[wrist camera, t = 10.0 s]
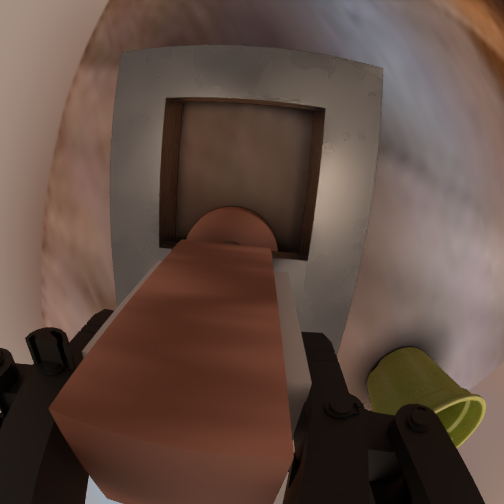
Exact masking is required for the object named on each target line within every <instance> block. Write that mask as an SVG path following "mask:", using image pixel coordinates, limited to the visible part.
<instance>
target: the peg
mask: <svg viewBox="0 0 504 504" xmlns="http://www.w3.org/2000/svg"><path fill="white" fill-rule="evenodd" d="M271 251H278V248H277V243H276V239H275V236H274V233H273V231H272V230H271V228H270V226H269V225H268V224H267V222H266V221H265V220H264V219H263V218H261V217H260V216H259V215H257V214H256V213H254V212H252V211H250V210H248V209H245V208H241V207H222V208H218V209H215V210H213V211H211V212H209V213H207V214H206V215H204V216H203V217H202V218H201V219H200V220H199V221H198V222H197V223H196V224H195V225H194V226H193V228H192V229H191V230H190V232H189V234H188V236H187V238H186V240H180V241H179V243H178V244H177V245H176V246H175V247H174V248H173V249H172V250H171V252H170V253H169V254H168V255H167V256H166V257H165V259H164V260H163V261H162V262H161V263H160V264H159V265H158V267H157V268H156V269H155V270H154V271H153V272H152V274H151V275H150V276H149V277H148V278H147V280H146V281H145V282H144V283H143V284H142V286H141V287H140V288H139V289H138V290H137V292H136V293H135V294H134V295H133V296H132V298H131V299H130V300H129V301H128V302H127V304H126V305H125V306H124V307H123V309H122V310H121V311H120V312H119V314H118V315H117V316H116V317H115V319H114V320H113V321H112V322H111V324H110V325H109V326H108V328H107V329H106V330H105V331H104V333H103V334H102V335H101V337H100V338H99V339H98V340H97V342H96V343H95V344H94V346H93V347H92V348H91V350H90V351H89V352H88V354H87V355H86V356H85V358H84V359H83V360H82V362H81V363H80V364H79V366H78V367H77V368H76V370H75V371H74V373H73V374H72V375H71V377H70V378H69V380H68V381H67V382H66V384H65V385H64V387H63V388H62V389H61V391H60V392H59V394H58V395H57V397H56V398H55V400H54V401H53V402H52V404H51V405H50V407H49V408H48V409H49V411H50V413H51V414H52V416H53V418H54V420H55V422H56V424H57V425H58V427H59V429H60V431H61V432H62V434H63V436H64V438H65V439H66V441H67V443H68V444H69V446H70V447H71V449H72V450H73V452H74V454H75V455H76V457H77V458H78V460H79V461H80V463H81V464H82V466H83V467H84V468H85V470H86V471H87V473H88V474H89V475H90V477H91V478H92V479H93V481H94V482H95V483H96V485H97V486H98V487H99V489H100V490H101V491H102V492H103V494H104V495H105V496H106V497H107V498H108V499H111V500H113V501H117V502H120V503H123V504H273V503H274V501H275V499H276V496H277V494H278V492H279V490H280V488H281V486H282V484H283V481H284V479H285V477H286V475H287V472H288V470H289V468H290V466H291V463H292V461H293V458H294V453H293V442H292V432H291V421H290V411H289V401H288V391H287V382H286V372H285V363H284V354H283V345H282V336H281V327H280V319H279V310H278V302H277V293H276V285H275V277H274V269H273V261H272V253H271Z"/></svg>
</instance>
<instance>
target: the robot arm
mask: <svg viewBox="0 0 504 504" xmlns="http://www.w3.org/2000/svg"><path fill="white" fill-rule="evenodd" d="M161 262H162V261H159V260H158V261H157V263H156V264H155V265H154V266H153V267H152V268H151V269H150V270H149V271H148V273H147V274H146V275H145V276H144V277H143V278H142V279H141V281H140V282H139V283H138V284H137V285H136V286H135V287H134V289H133V290H132V291H131V292H130V293H129V294H128V296H127V297H126V298H125V299H124V300H123V301H122V303H121V304H120V305H119V306H118V307H117V309H116V310H115V311H113V310H108V309H104V310H102V311H100V312H99V313H97V314H95V315H93V317H92V318H91V319H90V320H89V321H88V322H87V325H84V327H83V328H82V329H81V331H79V332H78V333H77V334H76V336H75V337H74V338H73V339H72V340H71V341H70V343H69V341H68V338H67V335H66V333H65V332H64V331H62V330H61V329H57V328H54V327H46V328H41V329H38V330H36V331H34V332H32V333H30V334H29V335H28V336H27V337H26V338H25V339H26V342H27V345H28V348H29V351H30V353H31V356H32V359H33V361H34V364H33V365H28V364H18V363H15V362H14V360H13V357H12V355H11V353H10V352H9V351H8V350H6V349H3V348H0V411H1V413H0V504H85V498H86V491H87V484H88V478H89V474H88V473H87V471H86V470H85V468H84V467H83V466H82V464H81V463H80V461H79V460H78V458H77V457H76V455H75V454H74V452H73V450H72V449H71V447H70V446H69V444H68V443H67V441H66V439H65V438H64V436H63V434H62V432H61V431H60V429H59V427H58V425H57V424H56V422H55V420H54V418H53V416H52V414H51V413H50V411H49V409H48V408H49V407H50V405H51V404H52V402H53V401H54V400H55V398H56V397H57V395H58V394H59V392H60V391H61V389H62V388H63V387H64V385H65V384H66V382H67V381H68V380H69V378H70V377H71V375H72V374H73V373H74V371H75V370H76V368H77V367H78V366H79V364H80V363H81V362H82V360H83V359H84V358H85V356H86V355H87V354H88V352H89V351H90V350H91V348H92V347H93V346H94V344H95V343H96V342H97V340H98V339H99V338H100V337H101V335H102V334H103V333H104V331H105V330H106V329H107V328H108V326H109V325H110V324H111V322H112V321H113V320H114V319H115V317H116V316H117V315H118V314H119V312H120V311H121V310H122V309H123V307H124V306H125V305H126V304H127V302H128V301H129V300H130V299H131V298H132V296H133V295H134V294H135V293H136V292H137V290H138V289H139V288H140V287H141V286H142V284H143V283H144V282H145V281H146V280H147V278H148V277H149V276H150V275H151V274H152V272H153V271H154V270H155V269H156V268H157V267H158V265H159V264H160V263H161ZM274 277H275V285H276V293H277V302H278V310H279V319H280V327H281V336H282V345H283V354H284V363H285V372H286V382H287V391H288V401H289V411H290V421H291V432H292V442H293V439H294V446H295V452H294V458H293V461H292V463H291V466H290V468H289V470H288V472H289V475H288V480H287V485H286V490H285V495H284V500H283V504H485V503H484V501H483V498H482V496H481V494H480V492H479V490H478V488H477V486H476V484H475V482H474V480H473V478H472V476H471V475H470V472H469V471H468V469H467V467H466V465H465V463H464V461H463V459H462V457H461V456H460V454H459V452H458V450H457V448H456V447H455V445H454V443H453V441H452V439H451V438H450V436H449V434H448V432H447V431H446V429H445V427H444V426H443V424H442V422H441V420H440V419H439V417H438V416H437V415H436V413H435V412H434V411H433V410H431V409H430V408H428V407H426V406H424V405H420V404H407V405H405V406H402V407H401V408H400V409H399V410H398V411H397V412H396V414H395V415H389V414H383V413H377V412H372V411H369V410H366V409H364V406H363V404H362V403H361V401H360V400H359V399H358V398H357V397H355V396H353V395H351V394H350V393H349V392H348V389H347V386H346V383H345V380H344V377H343V374H342V371H341V368H340V365H339V362H338V359H337V356H336V354H335V350H334V348H333V345H332V342H331V341H330V340H329V339H328V338H327V337H326V336H325V335H324V334H323V333H318V332H301V330H300V326H299V321H298V317H297V312H296V308H295V303H294V299H293V294H292V290H291V286H290V281H289V277H288V273H280V272H274Z"/></svg>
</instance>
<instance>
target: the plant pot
mask: <svg viewBox="0 0 504 504" xmlns="http://www.w3.org/2000/svg"><path fill="white" fill-rule="evenodd" d="M367 389H368V393H369V398H370V403H371V408H372V412H377V413H383V414H389V415H395V414H396V412H397V411H398V410H399V409H400V408H401V407H402V406H405V405H407V404H420V405H424V406H426V407H428V408H430V409H431V410H433V411H434V412H435V413H436V415H437V416H438V417H439V419H440V420H441V422H442V424H443V426H444V427H445V429H446V431H447V432H448V434H449V436H450V438H451V439H452V441H453V443H454V445H455V447H456V448H458V447H459V446H460V445H461V444H462V443H463V442H464V441H466V439H468V437H469V436H470V435H471V434H472V433H473V432H474V431H475V429H476V428H477V426H478V425H479V424H480V422H481V420H482V419H483V416H484V414H485V411H486V403H485V400H484V399H483V398H482V397H481V396H480V395H477V394H471V393H470V392H469V391H468V390H466V389H464V388H461V387H460V386H459V385H458V384H457V383H456V382H455V381H454V380H453V379H452V378H451V377H450V376H448V375H447V374H446V373H445V372H444V371H443V370H442V369H441V368H440V367H439V366H438V365H437V364H436V363H435V362H434V361H433V360H432V359H431V358H430V357H429V356H428V355H427V354H426V353H425V352H424V351H422V350H419V349H417V348H414V347H406V348H401V349H398V350H396V351H394V352H392V353H390V354H388V355H387V356H385V357H384V358H383V359H381V360H380V362H379V364H378V366H377V367H376V368H375V369H374V370H373V371H372V372H371V373H370V374H369V377H368V380H367Z"/></svg>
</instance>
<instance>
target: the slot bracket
mask: <svg viewBox="0 0 504 504" xmlns="http://www.w3.org/2000/svg"><path fill="white" fill-rule="evenodd" d="M382 86H383V68H380V67H376V66H372V65H369V64H365V63H361V62H357V61H352V60H348V59H343V58H338V57H334V56H328V55H323V54H317V53H311V52H304V51H297V50H290V49H281V48H271V47H259V46H241V45H189V46H171V47H159V48H150V49H141V50H133V51H127V52H122V55H121V61H120V67H119V73H118V80H117V87H116V95H115V104H114V113H113V124H112V138H111V157H110V225H111V244H112V258H113V270H114V280H115V289H116V298H117V305H118V306H119V305H120V304H121V303H122V301H123V300H124V299H125V298H126V297H127V296H128V294H129V293H130V292H131V291H132V290H133V289H134V287H135V286H136V285H137V284H138V283H139V282H140V281H141V279H142V278H143V277H144V276H145V275H146V274H147V273H148V271H149V270H150V269H151V268H152V267H153V266H154V265H155V264H156V263H157V261H158V260H159V261H163V260H164V259H165V257H166V256H167V255H168V254H169V253H170V252H171V250H172V249H173V248H174V247H175V246H176V245H177V244H178V243H177V242H176V200H177V176H178V158H179V143H180V130H181V119H182V108H183V101H210V102H236V103H252V104H264V105H275V106H284V107H292V108H300V109H307V110H314V118H313V130H312V141H311V151H310V161H309V171H308V180H307V189H306V197H305V205H304V214H303V221H302V229H301V237H300V244H299V251H298V253H291V252H279V251H271V253H272V261H273V269H274V272H280V273H288V277H289V281H290V286H291V290H292V294H293V299H294V303H295V308H296V312H297V317H298V321H299V326H300V330H301V332H318V333H323V334H324V335H325V336H326V337H327V338H328V339H329V340H330V341H331V342H332V345H333V348H334V350H335V354H336V356H337V353H338V350H339V346H340V343H341V339H342V336H343V332H344V329H345V325H346V322H347V318H348V314H349V310H350V306H351V302H352V298H353V294H354V290H355V286H356V281H357V277H358V273H359V268H360V263H361V259H362V254H363V249H364V244H365V238H366V233H367V227H368V222H369V216H370V209H371V203H372V196H373V189H374V182H375V174H376V166H377V157H378V147H379V136H380V124H381V108H382Z"/></svg>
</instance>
